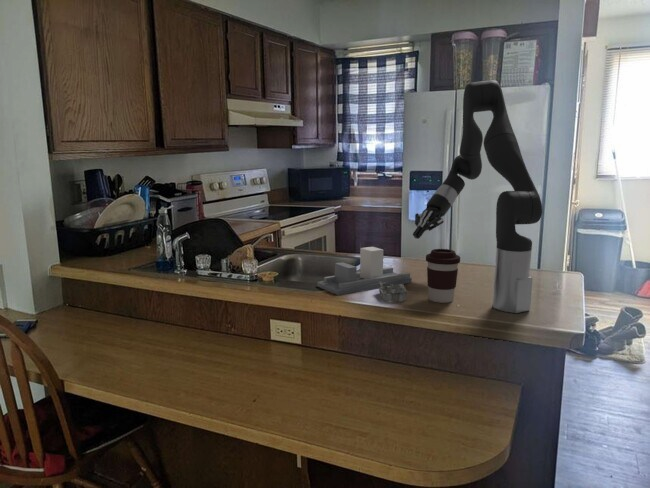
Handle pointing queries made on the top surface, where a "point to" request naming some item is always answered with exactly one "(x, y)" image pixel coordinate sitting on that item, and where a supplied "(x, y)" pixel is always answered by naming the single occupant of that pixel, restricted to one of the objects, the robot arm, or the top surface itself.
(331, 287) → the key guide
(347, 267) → the grey rectangular block
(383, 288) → the egg carton
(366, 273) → the block
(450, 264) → the coffee cup
